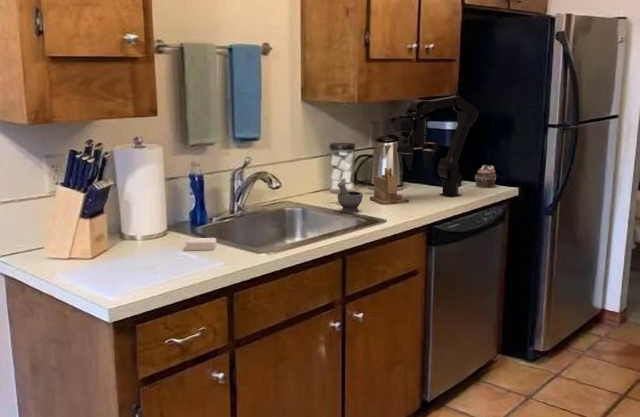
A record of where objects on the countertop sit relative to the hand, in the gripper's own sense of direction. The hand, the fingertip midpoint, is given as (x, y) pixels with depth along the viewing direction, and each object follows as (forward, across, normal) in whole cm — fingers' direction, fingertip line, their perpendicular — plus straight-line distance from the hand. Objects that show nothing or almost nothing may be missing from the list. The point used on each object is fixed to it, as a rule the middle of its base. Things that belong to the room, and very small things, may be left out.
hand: (417, 168), depth 278 cm
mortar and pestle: (+13, +37, +1) cm, 39 cm away
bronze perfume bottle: (+12, +12, -4) cm, 17 cm away
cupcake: (+13, -45, -2) cm, 47 cm away
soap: (+14, +106, +15) cm, 108 cm away
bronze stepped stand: (+13, +12, -4) cm, 18 cm away
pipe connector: (+13, +29, -13) cm, 34 cm away
